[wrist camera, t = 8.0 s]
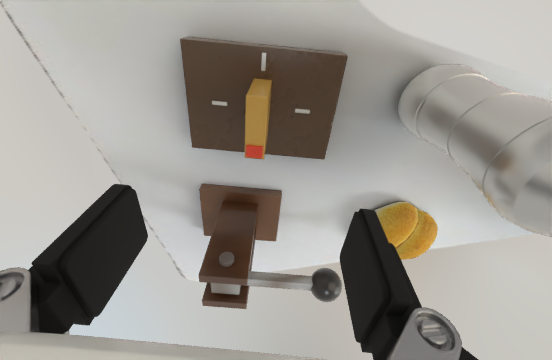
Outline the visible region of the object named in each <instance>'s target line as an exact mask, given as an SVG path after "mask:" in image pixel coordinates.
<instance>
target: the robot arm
mask: <svg viewBox="0 0 552 360" xmlns="http://www.w3.org/2000/svg"><path fill="white" fill-rule="evenodd" d="M147 238H148V234H147V230H146V227H145V223H144V219H143V216H142V212H141V208H140V205H139V201H138V198H137V194H136V191H135V190H134V189H132V187H131V186H129V185H121V184H114V185H112V186H111V187H110V188H109V189H108V190H107V191H106V192H105V193H104V194H103V195H102V196H101V197H100V198H99V199H98V200H96V201H95V202H94V203H93V204H92V205H91V206H90V207H89V208H88V209H87V210H86V211H85V212H84V213H83V214H82V215H81V216H80V217H79V218H78V219H77V220H76V221H75V222H74V223H73V224H72V225H70V226H69V227H68V228H67V229H66V230H65V231H64V232H63V233H62V234H61V235H60V236H59V237H58V238H57V239H56V240H55V241H54V242H53V243H52V244H51V245H50V246H49V247H47V249H46V250H44V251H43V252H42V253H41V254H40V255H39V256H38V257H37V258H36V259H35V260H34V261H33V262H32V265H33V266H32V267H31V268H30V269H29V270H27V269H25V268H19V267H18V268H9V269H6V270H2V271H0V360H324V359H317V358H308V357H298V356H288V355H279V354H268V353H259V352H249V351H238V350H229V349H219V348H208V347H198V346H188V345H178V344H167V343H157V342H146V341H134V340H123V339H113V338H103V337H92V336H79V335H69V329H70V328H71V326H72V325H73V324H79V325H90V323H91V322H92V320H93V319H94V317H97V316H98V315H100V313H101V312H102V311H103V309H104V308H105V306H106V304H107V302H108V301H109V300H110V298H111V296H112V295H113V293H114V292H115V290H116V289H117V287H118V286H119V284H120V282H121V281H122V279H123V278H124V276H125V274H126V273H127V271H128V270H129V268H130V267H131V265H132V263H133V262H134V260H135V258H136V257H137V256H138V254H139V252H140V251H141V249H142V248H143V246H144V245H145V243H146V241H147ZM340 263H341V269H342V274H343V279H344V284H345V289H346V294H347V299H348V305H349V310H350V315H351V320H352V324H353V330H354V335H355V339H356V341H357V342H359V343H361V348H362V352H367V353H372V354H373V359H374V360H478V359H477V358H475V357H474V356H473V355H472V354H470V353H469V352H468V351H466V350H465V349H464V348H463V347H462V342H461V339H460V335H459V333H458V332H457V330H456V328H455V327H454V325H453V324H452V323H451V322H450V321H449V320H448V319H447V318H446V317H444V316H443V315H442V314H440V313H438V312H437V311H435V310H433V309H429V308H422V306H421V304H420V302H419V300H418V298H417V295H416V293H415V291H414V289H413V286H412V284H411V282H410V280H409V277H408V275H407V273H406V270H405V268H404V266H403V264H402V262H401V259H400V257H399V255H398V252H397V250H396V248H395V246H394V245H393V244H392V243H389V242H388V239H387V237H386V234H385V232H384V230H383V227H382V225H381V223H380V220H379V218H378V216H377V213H376V211H375V210H368V209H360V210H359V212H355V213H354V216H353V218H352V221H351V224H350V227H349V230H348V233H347V236H346V239H345V241H344V244H343V247H342V250H341V253H340Z"/></svg>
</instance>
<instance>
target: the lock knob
mask: <svg viewBox="0 0 552 360" xmlns="http://www.w3.org/2000/svg"><path fill="white" fill-rule="evenodd" d="M271 85H272V80H265V79H256V78H254V80H253V82H252V84H251V86H250V88H249V90H248V93H247V95H246V114H245V158H255V159H264V156H265V149H266V142H267V135H268V124H269V111H270V98H271Z"/></svg>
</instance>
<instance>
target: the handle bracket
mask: <svg viewBox="0 0 552 360" xmlns="http://www.w3.org/2000/svg"><path fill="white" fill-rule="evenodd" d="M199 191H200V200H201V210H202V219H203V229H204V235H205V236H211V239H210V242H209V245H208V248H207V251H206V254H205V257H204V260H203V263H202V266H201V270H200V273H199V282H207V285H206V288H205V292H204V295H203V299H202V302H203V306H214V307H228V308H240V309H246V307H247V300H248V292H249V286H247V284H248V277H249V271H251V269H252V262H253V254H254V246H255V240H265V241H276V236H277V228H278V220H279V212H280V204H281V196H282V191H278V190H266V189H255V188H243V187H232V186H221V185H209V184H202V185H201V187H200V189H199ZM211 283H220V284H233V285H241V288H240V294H239V295H235V294H222V293H212V292H211ZM245 285H246V286H245Z"/></svg>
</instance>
